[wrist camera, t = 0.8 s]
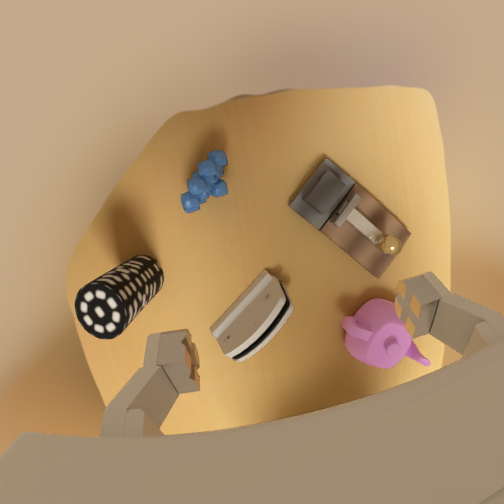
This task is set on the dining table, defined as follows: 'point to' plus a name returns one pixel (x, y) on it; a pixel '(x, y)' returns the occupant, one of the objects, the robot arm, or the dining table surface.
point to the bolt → (372, 232)
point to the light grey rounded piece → (253, 318)
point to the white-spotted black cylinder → (118, 296)
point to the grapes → (205, 181)
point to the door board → (346, 215)
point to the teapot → (379, 336)
